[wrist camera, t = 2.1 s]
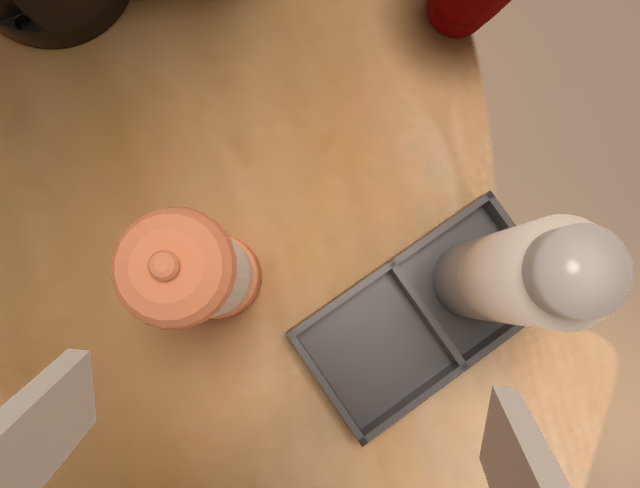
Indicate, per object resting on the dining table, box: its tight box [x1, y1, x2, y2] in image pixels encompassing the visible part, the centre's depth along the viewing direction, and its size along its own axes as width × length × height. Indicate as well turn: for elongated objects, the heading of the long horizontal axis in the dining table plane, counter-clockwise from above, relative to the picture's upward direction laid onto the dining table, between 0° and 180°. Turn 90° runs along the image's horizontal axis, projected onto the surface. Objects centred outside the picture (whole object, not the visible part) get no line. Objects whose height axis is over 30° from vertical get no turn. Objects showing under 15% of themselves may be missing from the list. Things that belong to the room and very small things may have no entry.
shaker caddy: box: [286, 191, 525, 447], centre depth 43 cm, size 11×22×3 cm, turn 125°
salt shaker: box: [433, 214, 634, 332], centre depth 35 cm, size 7×7×18 cm
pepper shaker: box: [111, 207, 261, 330], centre depth 34 cm, size 7×7×19 cm
